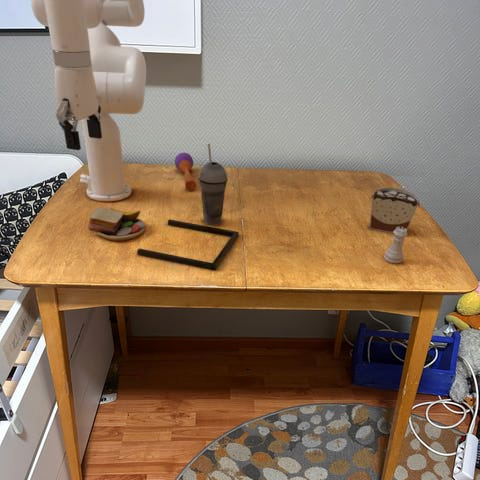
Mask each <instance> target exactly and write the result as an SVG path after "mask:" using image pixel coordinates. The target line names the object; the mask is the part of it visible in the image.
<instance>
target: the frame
mask: <svg viewBox="0 0 480 480" xmlns="http://www.w3.org/2000/svg"><path fill="white" fill-rule="evenodd" d="M167 225H168V226H171V227H177V228H183V229H187V230H193V231H198V232H203V233H209V234H215V235H221V236H225V237H230V238H229V240H228V241H227V242H226V243H225V245H224V246H223V248H221V250H220V251H219V253H218V255H217V256H216V257H215V259H213V261H212V262H208V261H206V260H205V261H204V260H199V259H193V258H189V257H185V256H179V255H174V254H170V253H164V252H158V251H155V250H149V249H144V248H138V249H137V250H136V253H137V255H138V256H142V257H147V258H152V259H156V260H160V261H161V260H162V261H167V262H172V263H177V264H181V265H186V266H192V267H196V268H202V269H206V270H210V271H216V270H217V268H218V267H219V265H220V264H221V262H222V261H223V260H224V259H225V257H226V255H227V254H228V252H229V251H230V249H232V247H233V245H234V244H235V242H236V241H237V239H238V238H239V236H240V231H235V230H231V229H225V228H220V227H219V228H218V227H215V226H214V227H213V226H210V225H203V224H198V223H197V224H196V223H192V222H186V221H181V220H176V219H170V218H169V219H168V220H167Z"/></svg>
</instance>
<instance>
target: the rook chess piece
mask: <svg viewBox="0 0 480 480" xmlns="http://www.w3.org/2000/svg"><path fill="white" fill-rule="evenodd" d="M403 228H404V227H401V229H400V227H396V229H395V230H394V231H393V233H392V234H393V236H392V242H391V244H390V246H389V247H388V248H387V250H386V251H384V255H383V258H384V260H385V262H388V263H390V264H400V263H401V262H403V261H404V251H403V246H404V242H405V241H406V239H405V237H407V236H408V230H407V229H406V228H405V229H403Z"/></svg>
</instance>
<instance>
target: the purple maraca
mask: <svg viewBox="0 0 480 480" xmlns="http://www.w3.org/2000/svg"><path fill="white" fill-rule="evenodd" d="M174 165H175V168H176V170H178V171H179V172H181V173H184V183H185V184H184V185H185V190H187V191H188V192H192V191H195V190H196V188H197V183H196V181H195V179H194V178H193V176H192V175H191V172H190V171H191V170H192V168H193V166H194V159H193V157H192V155H190V153H187V152H181V153H178V154H177V155H176V156H175V158H174Z"/></svg>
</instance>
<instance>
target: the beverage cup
mask: <svg viewBox="0 0 480 480" xmlns="http://www.w3.org/2000/svg"><path fill="white" fill-rule="evenodd" d="M207 149H208V159H209V162H207V163H206V164H204V165H203V166H202V168H201V169H200V172H199V175H198V182H199V183H198V184H199V187H200V193H201V206H202V214H203V216H202V217H203V222H204V224H206V225H207V226H217V225H218V226H219V225H220V224H222V218H223V211H224V201H225V193H226V188H227V184H228V174H227V171H226V169H225V168H224V166H223V165H222V164H221V163H219V162H216V161H212V160H213V159H212V152H211V144H210V143H207Z"/></svg>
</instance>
